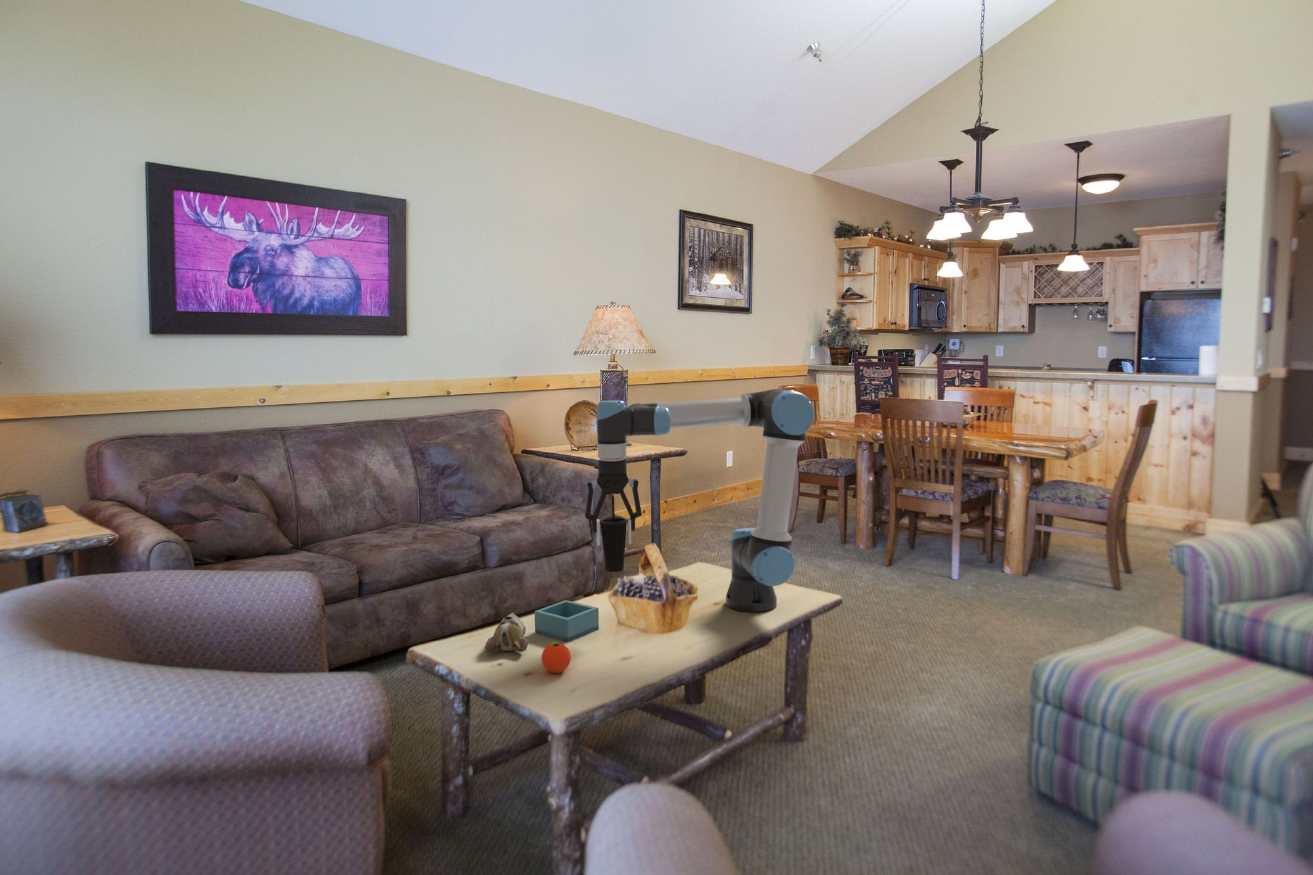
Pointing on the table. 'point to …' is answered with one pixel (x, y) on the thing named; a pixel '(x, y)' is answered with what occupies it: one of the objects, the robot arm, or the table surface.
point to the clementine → (556, 657)
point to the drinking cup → (614, 540)
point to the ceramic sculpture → (508, 636)
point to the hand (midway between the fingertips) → (614, 543)
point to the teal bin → (566, 620)
